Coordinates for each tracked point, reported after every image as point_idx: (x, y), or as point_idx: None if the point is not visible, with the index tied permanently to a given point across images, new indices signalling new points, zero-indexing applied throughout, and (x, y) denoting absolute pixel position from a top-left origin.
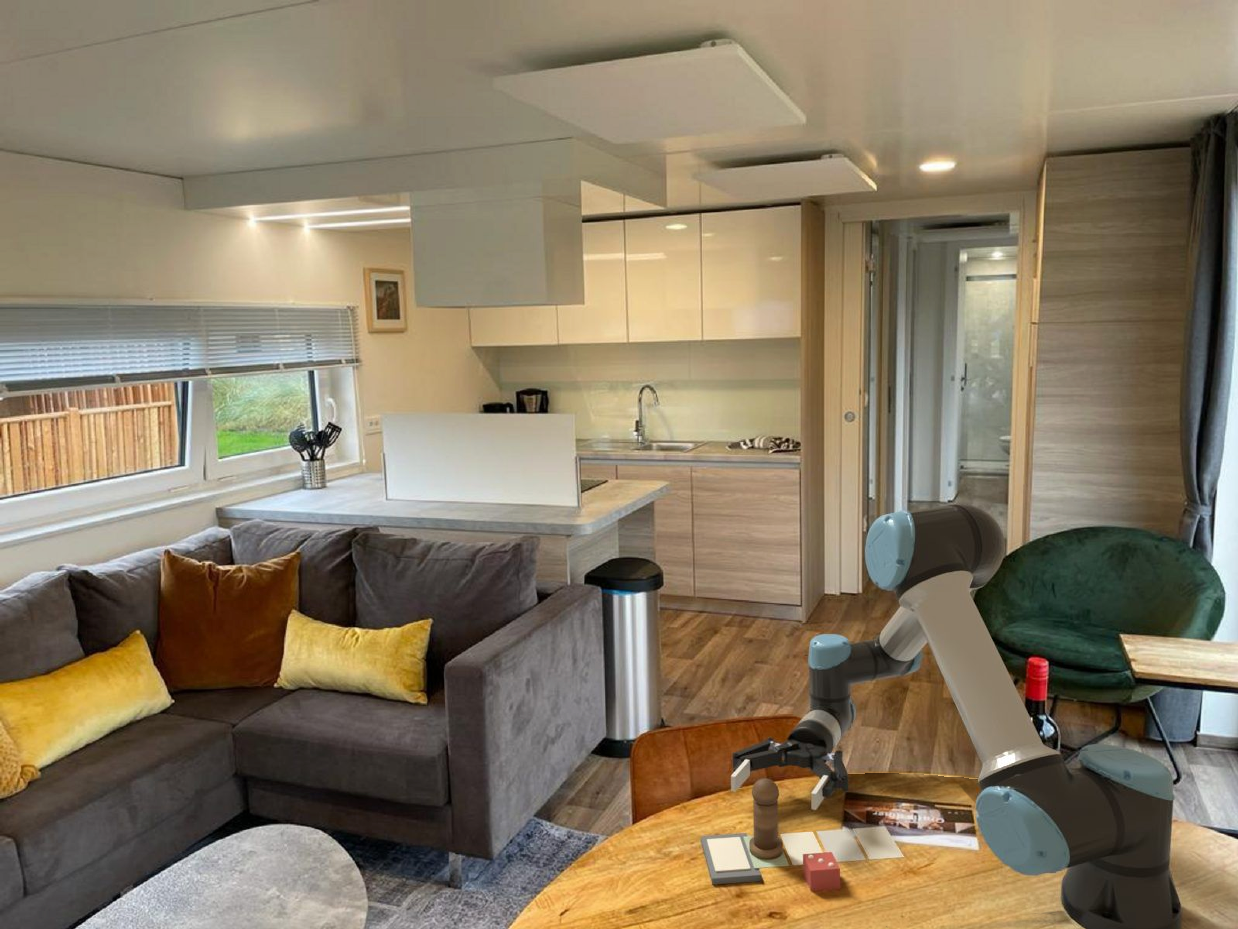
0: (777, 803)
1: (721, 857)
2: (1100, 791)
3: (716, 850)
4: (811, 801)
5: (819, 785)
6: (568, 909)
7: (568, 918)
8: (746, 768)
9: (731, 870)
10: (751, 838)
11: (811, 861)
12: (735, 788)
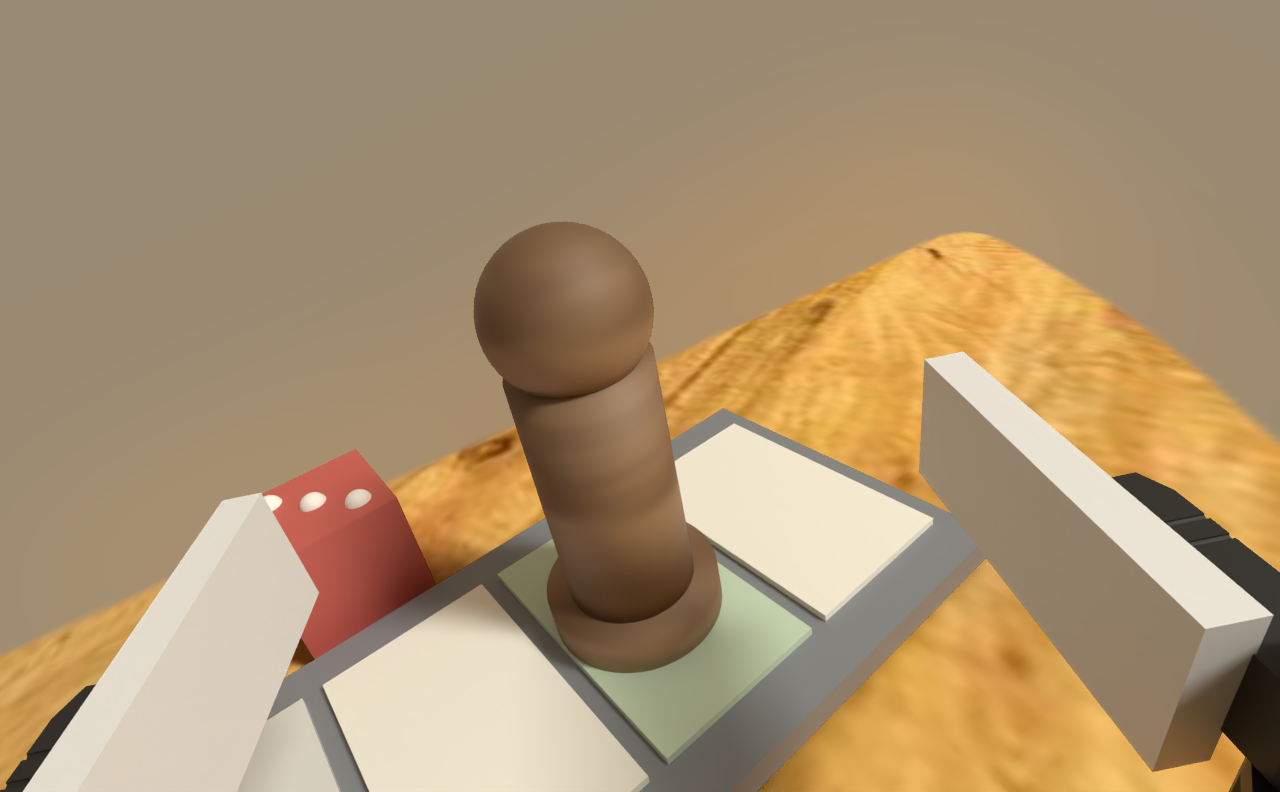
0: (503, 387)
1: (772, 472)
2: None
3: (825, 488)
4: (290, 545)
5: (161, 614)
6: (936, 258)
7: (906, 252)
8: (1097, 580)
9: (690, 451)
10: (717, 563)
11: (354, 483)
12: (920, 446)
